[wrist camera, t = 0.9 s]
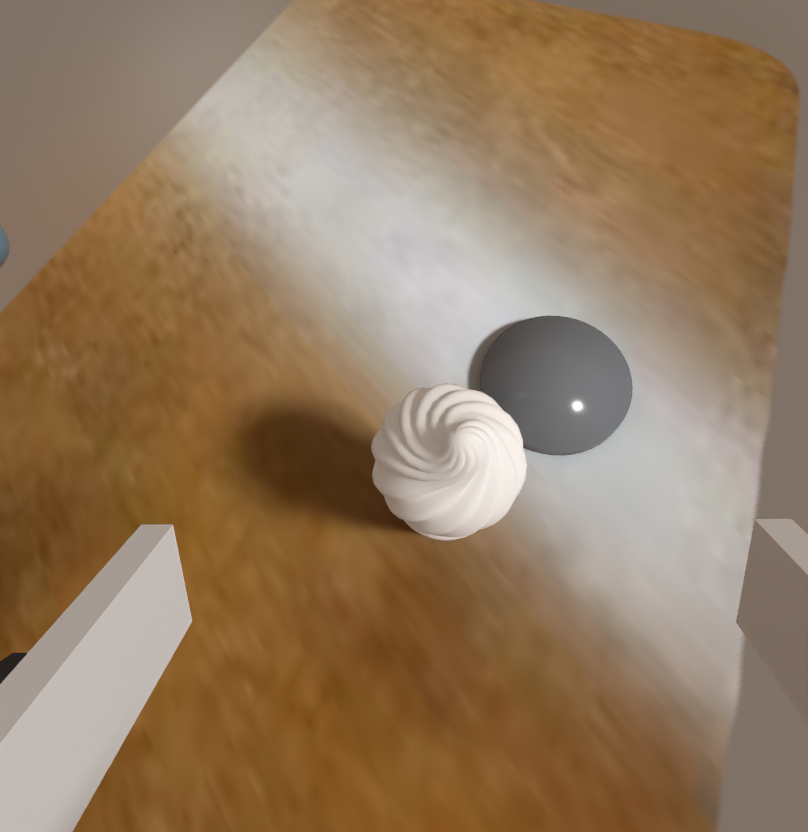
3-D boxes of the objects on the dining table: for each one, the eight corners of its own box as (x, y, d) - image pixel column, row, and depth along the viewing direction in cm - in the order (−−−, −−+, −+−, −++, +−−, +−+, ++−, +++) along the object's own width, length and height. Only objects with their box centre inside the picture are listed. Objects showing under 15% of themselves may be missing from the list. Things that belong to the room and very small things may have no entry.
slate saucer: (456, 354, 47) (456, 347, 46) (581, 302, 49) (584, 295, 48) (522, 479, 43) (524, 475, 42) (656, 419, 45) (661, 414, 44)
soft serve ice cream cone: (359, 502, 43) (324, 418, 28) (446, 428, 45) (455, 313, 30) (439, 593, 41) (446, 555, 26) (528, 511, 42) (581, 431, 28)
